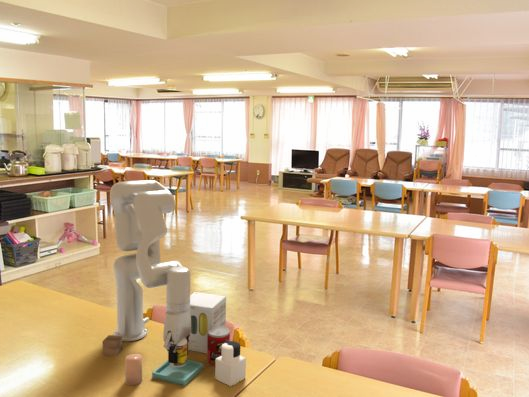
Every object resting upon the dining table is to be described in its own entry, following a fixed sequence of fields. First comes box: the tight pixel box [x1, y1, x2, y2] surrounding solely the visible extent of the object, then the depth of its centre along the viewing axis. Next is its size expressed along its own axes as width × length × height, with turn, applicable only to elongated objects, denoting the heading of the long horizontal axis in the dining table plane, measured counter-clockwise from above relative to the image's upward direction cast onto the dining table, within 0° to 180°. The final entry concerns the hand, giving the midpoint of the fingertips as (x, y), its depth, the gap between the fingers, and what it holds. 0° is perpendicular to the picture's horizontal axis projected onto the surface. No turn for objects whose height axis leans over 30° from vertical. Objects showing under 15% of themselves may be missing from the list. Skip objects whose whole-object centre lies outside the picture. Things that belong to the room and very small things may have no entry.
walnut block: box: [102, 334, 123, 357], centre depth 168 cm, size 5×5×5 cm
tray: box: [151, 359, 204, 387], centre depth 155 cm, size 12×12×2 cm
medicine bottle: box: [214, 340, 247, 387], centre depth 151 cm, size 7×7×12 cm
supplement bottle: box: [170, 338, 188, 367], centre depth 154 cm, size 6×6×10 cm
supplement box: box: [188, 291, 227, 354], centre depth 175 cm, size 13×13×18 cm
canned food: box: [206, 326, 231, 366], centre depth 163 cm, size 8×8×11 cm
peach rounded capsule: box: [125, 353, 143, 386], centre depth 149 cm, size 5×5×8 cm
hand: (178, 357), depth 154 cm, fingers closed on supplement bottle, 5 cm apart
